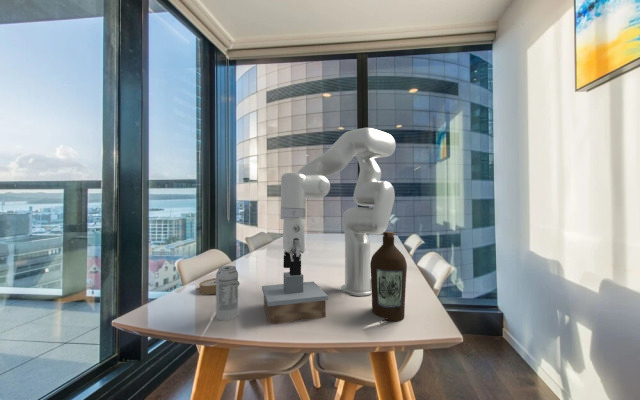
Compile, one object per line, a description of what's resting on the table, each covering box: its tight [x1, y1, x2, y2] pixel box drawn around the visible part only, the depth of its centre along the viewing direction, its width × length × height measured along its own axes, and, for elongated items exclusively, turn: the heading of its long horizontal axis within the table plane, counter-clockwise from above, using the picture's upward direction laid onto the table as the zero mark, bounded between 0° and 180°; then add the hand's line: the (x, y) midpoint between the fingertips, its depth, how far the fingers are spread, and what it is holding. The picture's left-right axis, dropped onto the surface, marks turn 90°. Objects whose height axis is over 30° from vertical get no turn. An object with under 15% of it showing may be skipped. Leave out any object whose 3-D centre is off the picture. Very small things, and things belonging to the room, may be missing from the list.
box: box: [263, 296, 327, 325], centre depth 88 cm, size 16×14×6 cm
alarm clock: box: [195, 277, 240, 295], centre depth 111 cm, size 11×5×15 cm
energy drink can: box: [215, 265, 239, 321], centre depth 84 cm, size 6×6×15 cm
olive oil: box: [370, 231, 408, 323], centre depth 87 cm, size 11×11×25 cm
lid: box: [261, 271, 329, 306], centre depth 88 cm, size 17×15×7 cm
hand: (291, 271), depth 88 cm, fingers open, 9 cm apart
